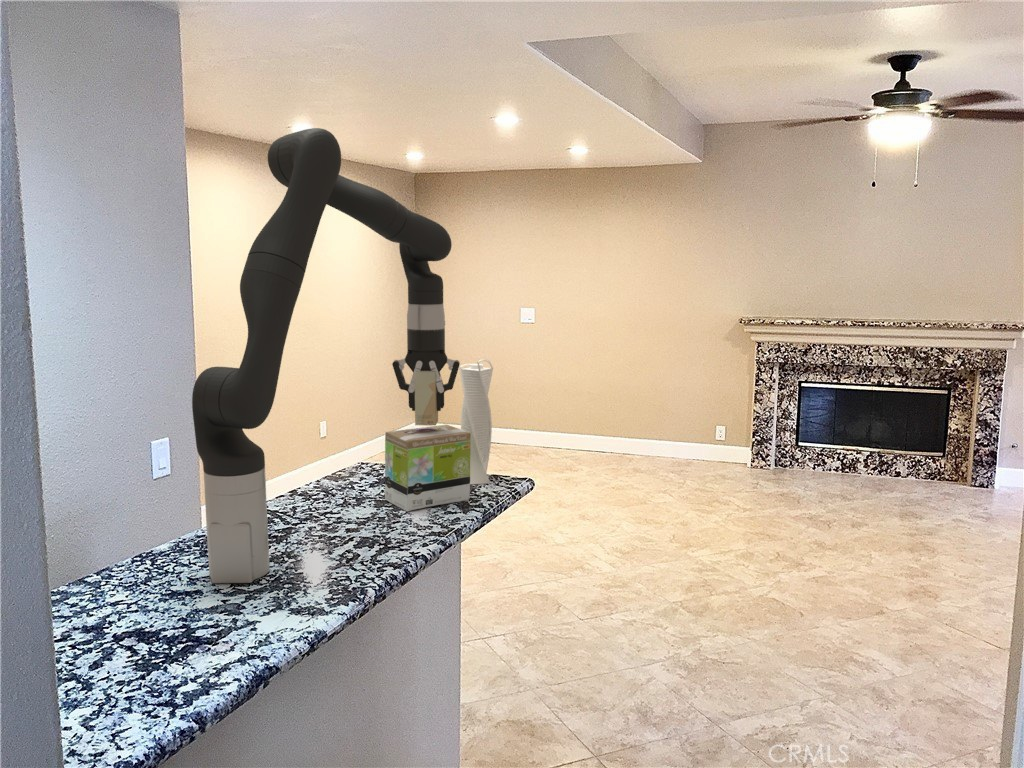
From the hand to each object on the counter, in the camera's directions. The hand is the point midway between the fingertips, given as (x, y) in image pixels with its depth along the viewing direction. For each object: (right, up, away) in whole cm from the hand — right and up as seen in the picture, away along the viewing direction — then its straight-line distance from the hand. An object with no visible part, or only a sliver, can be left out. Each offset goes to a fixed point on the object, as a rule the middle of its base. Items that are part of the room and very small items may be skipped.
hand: (426, 409), depth 169 cm
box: (0, -3, +1) cm, 3 cm away
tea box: (0, -19, +3) cm, 19 cm away
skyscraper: (+9, -17, +17) cm, 26 cm away
